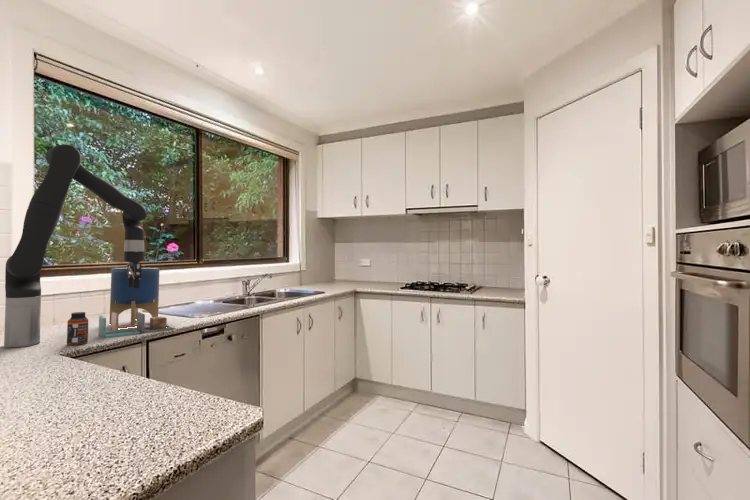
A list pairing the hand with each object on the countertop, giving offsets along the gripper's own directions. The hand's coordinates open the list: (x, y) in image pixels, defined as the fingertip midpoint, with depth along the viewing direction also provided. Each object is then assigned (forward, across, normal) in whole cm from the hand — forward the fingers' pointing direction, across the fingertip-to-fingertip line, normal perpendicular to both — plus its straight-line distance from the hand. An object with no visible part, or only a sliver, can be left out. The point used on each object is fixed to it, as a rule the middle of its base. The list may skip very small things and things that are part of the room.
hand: (133, 287), depth 160 cm
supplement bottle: (+19, +17, -21) cm, 33 cm away
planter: (+18, -16, +4) cm, 25 cm away
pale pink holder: (+18, -1, -1) cm, 18 cm away
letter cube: (+18, +10, +7) cm, 22 cm away
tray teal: (+18, +10, -7) cm, 22 cm away
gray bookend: (+18, +10, +6) cm, 22 cm away
